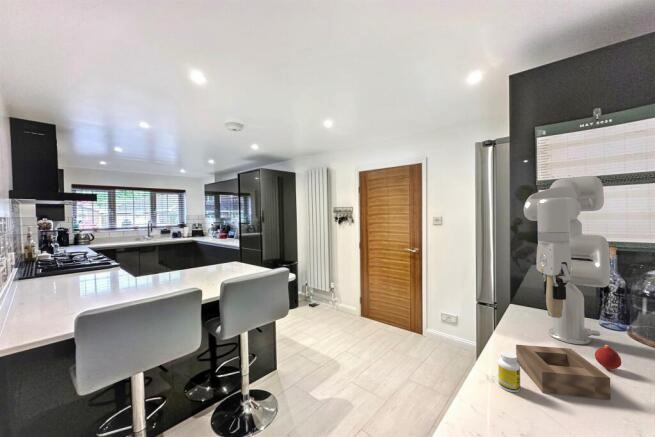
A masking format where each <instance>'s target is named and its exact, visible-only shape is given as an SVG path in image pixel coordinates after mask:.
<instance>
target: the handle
mask: <svg viewBox="0 0 655 437" xmlns="http://www.w3.org/2000/svg"><path fill="white" fill-rule="evenodd" d="M540 268H541V272H540V273H542V272H544V268H542V267H540ZM546 275H547V274H546ZM556 276H562V273H561V274H558V275H556ZM557 279H558V280H559V279H561V278H557ZM552 286H554V281H553V276H549V275H547V290H546V295H545V303H546V309H547V315H548V316H549V317H551V318H553V317H555V318H560V317H562V313H561V312H562V310H563V300H558V299H553V292H552Z"/></svg>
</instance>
